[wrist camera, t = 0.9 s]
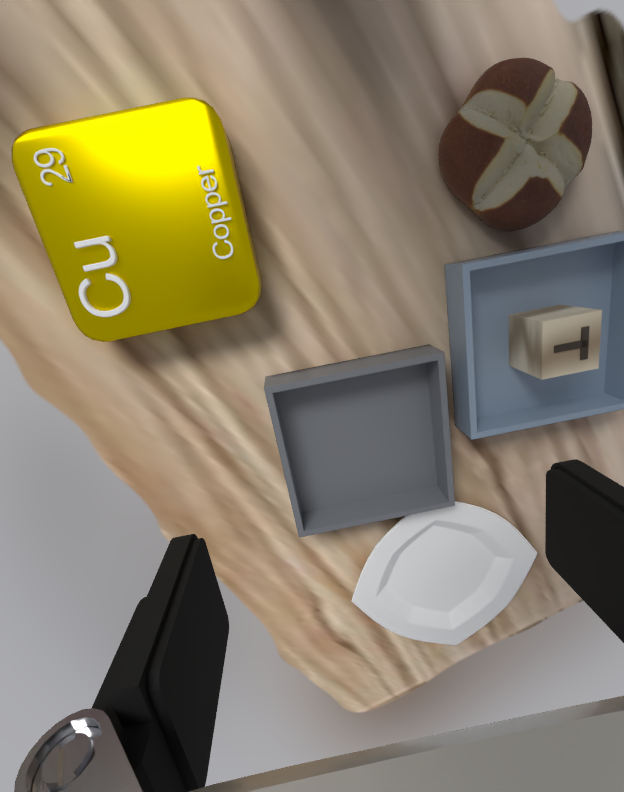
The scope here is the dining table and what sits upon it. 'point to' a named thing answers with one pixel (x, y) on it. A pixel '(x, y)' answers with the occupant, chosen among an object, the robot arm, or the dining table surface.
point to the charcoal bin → (364, 438)
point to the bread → (516, 143)
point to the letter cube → (555, 340)
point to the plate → (443, 573)
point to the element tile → (141, 217)
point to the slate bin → (523, 291)
